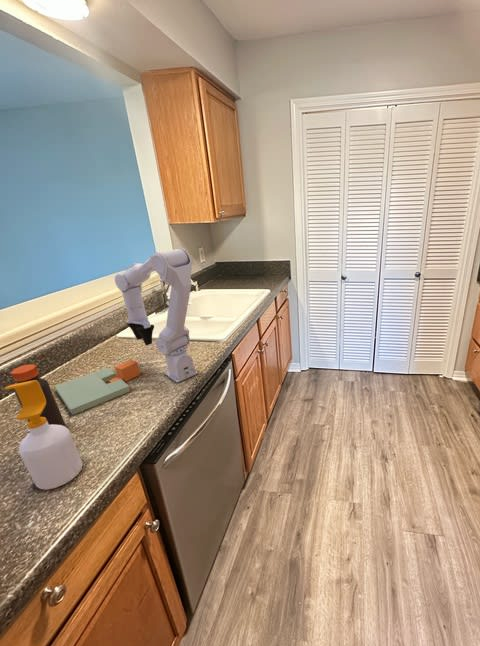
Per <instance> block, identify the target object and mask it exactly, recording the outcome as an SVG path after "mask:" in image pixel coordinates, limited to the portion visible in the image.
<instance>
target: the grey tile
mask: <svg viewBox="0 0 480 646" xmlns="http://www.w3.org/2000/svg"><path fill="white" fill-rule="evenodd" d="M115 377H117V374H116V373H115V371H113V370H112V369H111V368H110V367H104V368H101V369H99V370H95V371H93V372H90V373H87V374H85V375H82V376H79V377H76V378H73V379H71V380H67V381H65V382H62V383H60V384H56V385H54V388H55V391H56V392H57V394H58V396H59V397H60V398H61V400H62V401H63V403H64V405H65V406H66V408H67V410H68V411H69V412H70V414H71V415H72V416H74V415H77V414H79V413H81V412H84V411H86V410H88V409H92V408H94V407H95V406H98V405H101V404H103V403H105V402H108V401H110V400H113V399H115V398H117V397H120V396H122V395H124V394H127V393H130V392H131V389H130V386H129V384H127V383H126V382H124V381H123V380H122V379H119V380H116V381H114V382H111V383H109V380H111V379H113V378H115Z"/></svg>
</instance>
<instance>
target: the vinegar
mask: <svg viewBox="0 0 480 646" xmlns="http://www.w3.org/2000/svg"><path fill="white" fill-rule="evenodd" d="M10 374H11V376H12V379H13V381H14V383H15V384H18V383H23V382H28V381H33V380H37V381H38V382H39V384H40V387H41V389H42V391H43V394H44V396H45V398H46V405H45V407H44V409H43V411H42V413H41V415H40V417H45V418H46V419H47V422H48V424H49V425H62V426H65V427H66V428H67V424H66V422H65V420H64V417H63V415H62V413H61V411H60V408H59V405H58V403H57V401H56V399H55V396H54V394H53V391H52V389H51V387H50V384H49V382H48V380H47V379H45V378H42V377H40V372H39V370H38V367H37V365H36V364H34V363H33V364H32V363H31V364H30V363H29V364H25V365H20V366H18V367H15V368H14V369H13V370H12V371H10ZM14 394H15V396H16V399H17V401H18V403H19V405H20V407H21V408H22V403H21V401H20V398H19V396H18V394H17V392H16V390H15V389H14ZM26 420H27V423H28V422H30V419H29V420H28V419H26Z"/></svg>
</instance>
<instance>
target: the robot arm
mask: <svg viewBox="0 0 480 646" xmlns="http://www.w3.org/2000/svg"><path fill="white" fill-rule="evenodd" d="M192 268H193V259H192V257H191V256H190V254H189V252H188V251H187V250H186V249H185V248H183V247H179V248H177V249H172V250H166V251H161V252H154V253H153V254H151V255H149V258H147V260H146V261H144V262H143V263H138V262H135V263H132V264H131V267H130V268H127V269H125V270H124V272H122V273H116V275H115V277H114V283H115V286H116V287H117V289H118V290H119V291H121V293H122V297H123V300H124V306H125V308H126V312H127V317H128V319H127V320H126V321H125V323H126V325H127V326H128V327H129V328H130V330H131V331H132V333H133V335H134V337H135V338H136V340H137V341H139V340H142V341H143V343H144V345H145V346H149V345H152V344H153V333H154V329H155V325H154V324H151V322H150V320H149V317H148V315H147V310H146V307H145V303H144V299H143V295H142V292H143V288H142V287H143V283H144V282H146V281H147V280H149V279H150V278H151V275H152V273H153V272H156V273H157V275H158V276H159V277H160V278H161V279H162V281H163V282H164V283H165V284H166V285H168V286H170V294H169V302H168V309H167V317H166V323H165V327H164V328H163V329H161V331H160V332H159V334H158V337H157V338H156V341H155V345H156V348H157V350H158V351H159V353H161V354H162V355H164V358H165V361H166V366H167V371H165V372H164V375H165V376H167V377H169V378H170V379H171V380H173V381H174V382H175V383H180V382H182V381H184V380H187V379H189V378H191V377H194V376H196V375H198V373H199V372H198V371H197V370H195V365H194V360H193V357H192V356H191V355H189V354H188V350H187V349H188V348H189V344H190V342H191V338H190V330H189V328H188V327H187V326H185V324H186V317H187V312H188V307H189V301H190V296H191V294H190V293H191V289H192V278H191V277H192V276H191V275H192Z"/></svg>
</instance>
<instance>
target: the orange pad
mask: <svg viewBox="0 0 480 646" xmlns="http://www.w3.org/2000/svg"><path fill="white" fill-rule="evenodd" d="M114 369H115V372H116V373H115V374H116V377H115V378H113V379H111V380H109V381H108V384H109V383H111V382H114V381H116V380H119V379H122V380H123V381H124V382H125V383H126V382H128V381H130V380H133V379H134V378H136V377H138V376H140V375H141V374H142V373H141V371H140V366H139V363H138V361H135V360H132V359H129V360H127V361H125V362H122V363H121V364H118V365H115V366H114Z"/></svg>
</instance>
